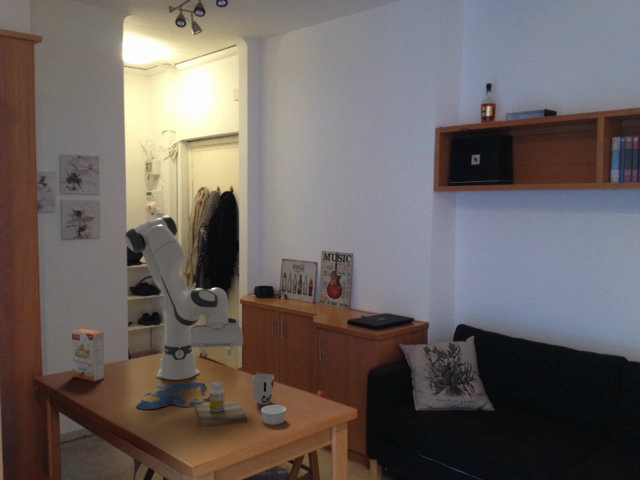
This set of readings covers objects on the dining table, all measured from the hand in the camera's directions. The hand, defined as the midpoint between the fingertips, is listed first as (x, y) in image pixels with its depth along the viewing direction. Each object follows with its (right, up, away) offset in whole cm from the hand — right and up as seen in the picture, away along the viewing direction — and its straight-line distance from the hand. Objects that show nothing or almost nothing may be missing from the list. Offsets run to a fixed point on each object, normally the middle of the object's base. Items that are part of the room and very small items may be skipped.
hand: (216, 355), depth 223 cm
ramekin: (+23, -21, -15) cm, 34 cm away
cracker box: (-62, -17, +34) cm, 73 cm away
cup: (+17, -19, +4) cm, 26 cm away
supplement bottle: (+2, -18, -9) cm, 20 cm away
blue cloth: (-19, -19, +11) cm, 29 cm away
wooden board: (+3, -20, -11) cm, 23 cm away
